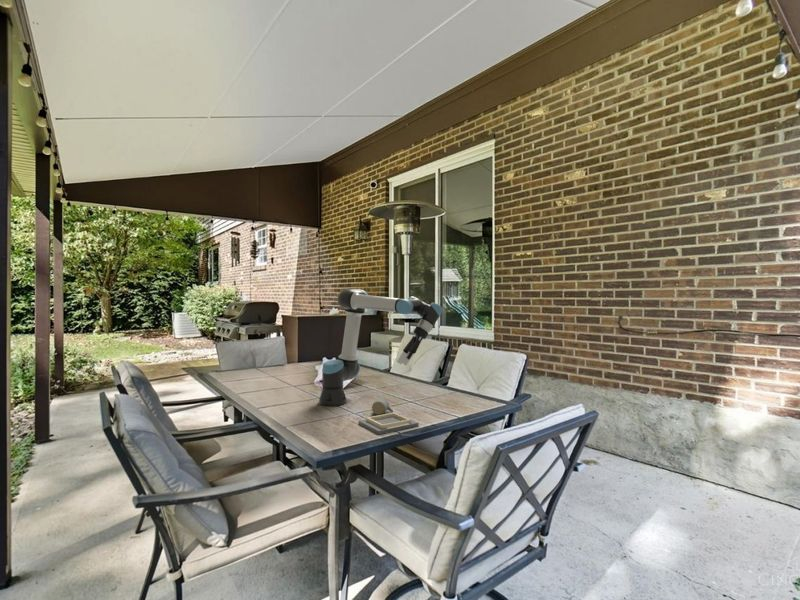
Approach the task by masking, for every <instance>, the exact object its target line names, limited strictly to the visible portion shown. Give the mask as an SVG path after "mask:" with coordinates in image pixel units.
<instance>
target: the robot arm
mask: <svg viewBox="0 0 800 600" xmlns="http://www.w3.org/2000/svg"><path fill="white" fill-rule="evenodd" d="M337 303H338V305H339V307H340V308H342V309H344V313H345V314H346V317H345V318H346V319H345V324H344V331H343V332H344V333H343V338H342V339H343V340H342V347H341V353H340V354H339V355H338V358H337V359H332V360H326V361H324V363H323V364H322V368H321V371H322V372H321V373H322V382H321V383H322V384H321V385H322V386H321V387H322V389H321V392H320V396H319V398H318V404H319V405H321V406H324V407H325V406H326V407H337V406H342V405H344V404H347V396H346V393H345V390H344V382H345V381H350V380H352V379H354V378H356V377H357V376H359V373H360V371H361V366H360V362H359V361H358V360H359V358H358V356H357V350H358V342H359V335H360V327H361V321H362V316H363V315H364V314H365V311H366V310H373V311H382V312H388V313H389V312H390V313H396V314H401V315H410V314H411V315H412V314H416V315H418V316H420V317H421V319H420V320H419V322H418V323H417V325H416V327H415V328H414V329H413V333H414V334H415V335H414V336H412V337H411V339H410V340H409V342H408V343H407V344H406V346H404V348H403V349H402V352H401V354H400V355H399V357H398V358H397V360H396V362H397V363H398V364H399V365H402V364H403V365H404V366H408V364H409V362H410V360H411V359H412V357H413V356H414V354H416V353H417V351H418V349H419V347H420V344H421V343H422V340H426V339H427V337H428V335H429V333H430V332H431V331H433V327H434V326H435V324H436V322H437V321H438V320H439V318H440V317H441V315H442V312H443V311H444V310H443V307H442V306H441V305H439V304H438V303H436V302H431V303H430V304H428V303H426V302H424V301H423V300H422V299H419V298H418V297H416V296H409V297H408V298H399V297H398V298H397V297H388V296H380V295H379V296H377V295H370V294H368V293H367V292H366V291H365V290H363V289H360V288H347V289H346V288H345V289H343V290H341V291H340V292H339V294H338V296H337Z"/></svg>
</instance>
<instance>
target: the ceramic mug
mask: <svg viewBox="0 0 800 600" xmlns="http://www.w3.org/2000/svg"><path fill="white" fill-rule="evenodd" d="M371 410H372V412H373V414H375V416H378V415H384V414H389V413H394V410H393V409H392V408H391V407H390V404H389V401H388V399H387V398H385V397H383V396H381V397H377V398H376V399H375V401H374V402H373V403H372V405H371Z"/></svg>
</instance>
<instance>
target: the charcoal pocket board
mask: <svg viewBox="0 0 800 600" xmlns="http://www.w3.org/2000/svg"><path fill="white" fill-rule="evenodd" d="M359 424H360V426H361V425H362V427H363V426H364V427H363V428H365V427H366V428H365V429H367V428H368V430H369V429H370V430H369V431H371V430H372V431H371V432H373V431H374V432H373V433H375V432H376V433H375V434H377V433H378V434H377V435H382V434H381V433H384V434H387V433H386V432H388V433H392V432H391V431H393V432H397V431H396V430H398V431H402V430H406V428H407V429H411V427H412V428H415V427H419V426H420V425H419V422H418V421H415V420H412V419H411V418H408V417H405V416H403V415H401V414H398V413H396V412H393V413H389V414H386V413H383V414H382V415H374V416H369V417H366V418H365V419H361V420H358V425H359ZM401 429H402V430H401Z"/></svg>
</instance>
